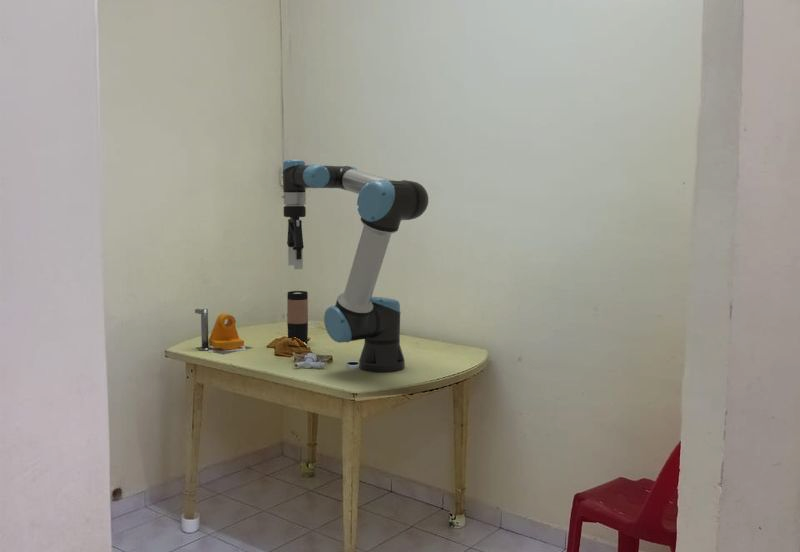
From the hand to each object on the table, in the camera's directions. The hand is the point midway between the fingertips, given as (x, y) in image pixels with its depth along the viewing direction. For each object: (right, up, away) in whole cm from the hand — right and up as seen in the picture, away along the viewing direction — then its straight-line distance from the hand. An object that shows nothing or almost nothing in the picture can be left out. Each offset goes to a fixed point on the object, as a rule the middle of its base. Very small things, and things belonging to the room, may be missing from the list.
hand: (295, 267), depth 247 cm
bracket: (-27, -29, +12) cm, 41 cm away
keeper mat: (-28, -30, +13) cm, 42 cm away
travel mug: (-2, -29, +22) cm, 36 cm away
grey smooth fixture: (-35, -29, +11) cm, 47 cm away
